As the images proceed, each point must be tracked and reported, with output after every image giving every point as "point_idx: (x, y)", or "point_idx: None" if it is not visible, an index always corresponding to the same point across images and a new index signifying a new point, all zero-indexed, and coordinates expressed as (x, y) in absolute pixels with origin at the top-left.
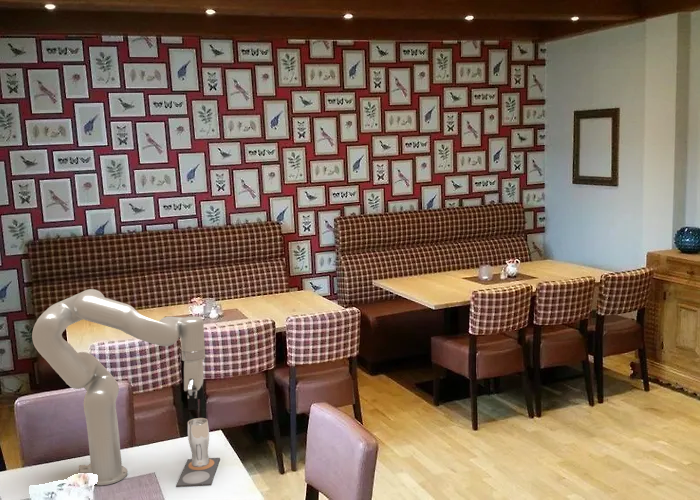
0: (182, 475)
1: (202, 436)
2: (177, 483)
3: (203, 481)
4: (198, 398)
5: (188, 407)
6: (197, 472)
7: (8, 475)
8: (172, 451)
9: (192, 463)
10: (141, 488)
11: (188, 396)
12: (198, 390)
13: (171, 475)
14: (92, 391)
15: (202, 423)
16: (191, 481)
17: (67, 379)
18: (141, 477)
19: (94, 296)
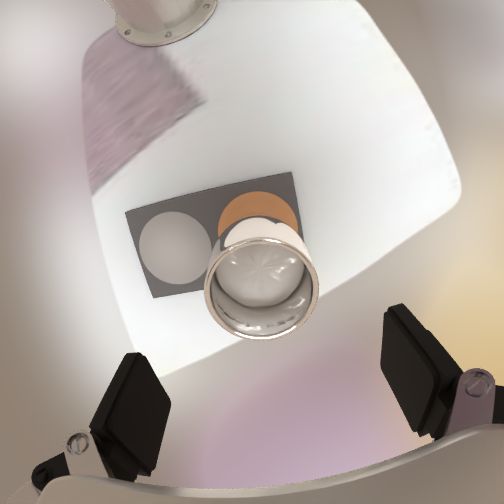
0: (179, 203)
1: (225, 298)
2: (133, 212)
3: (157, 277)
4: (385, 344)
5: (122, 365)
6: (201, 241)
7: None
8: (350, 100)
9: (236, 213)
10: (109, 122)
11: (68, 452)
12: (415, 398)
13: (187, 163)
14: None
15: (310, 284)
16: (149, 246)
17: None
18: (166, 84)
19: None
